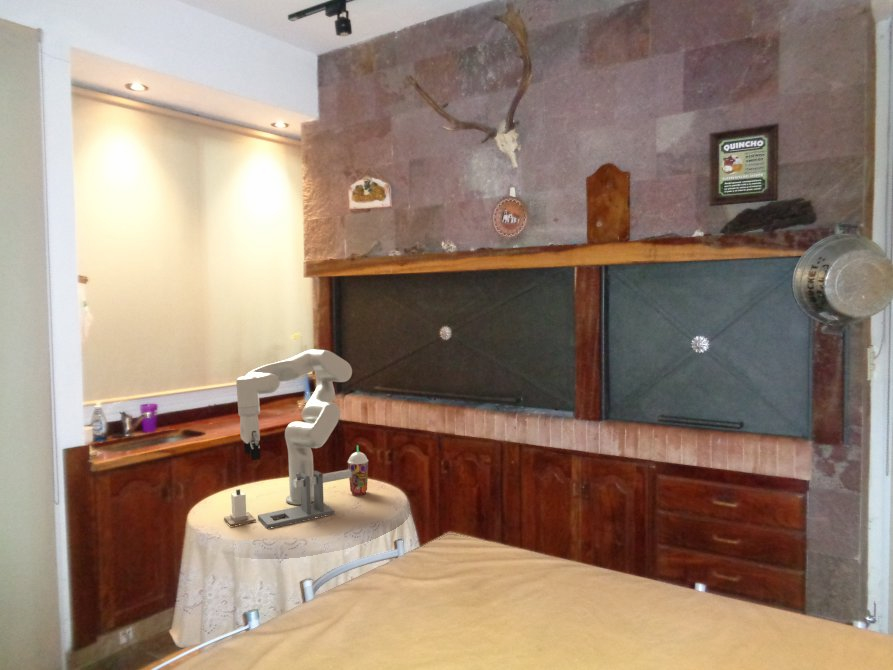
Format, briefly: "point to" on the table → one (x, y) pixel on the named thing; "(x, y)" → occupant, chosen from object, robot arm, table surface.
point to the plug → (238, 506)
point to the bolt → (326, 478)
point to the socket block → (305, 509)
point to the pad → (232, 523)
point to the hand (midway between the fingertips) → (252, 456)
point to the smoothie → (358, 472)
